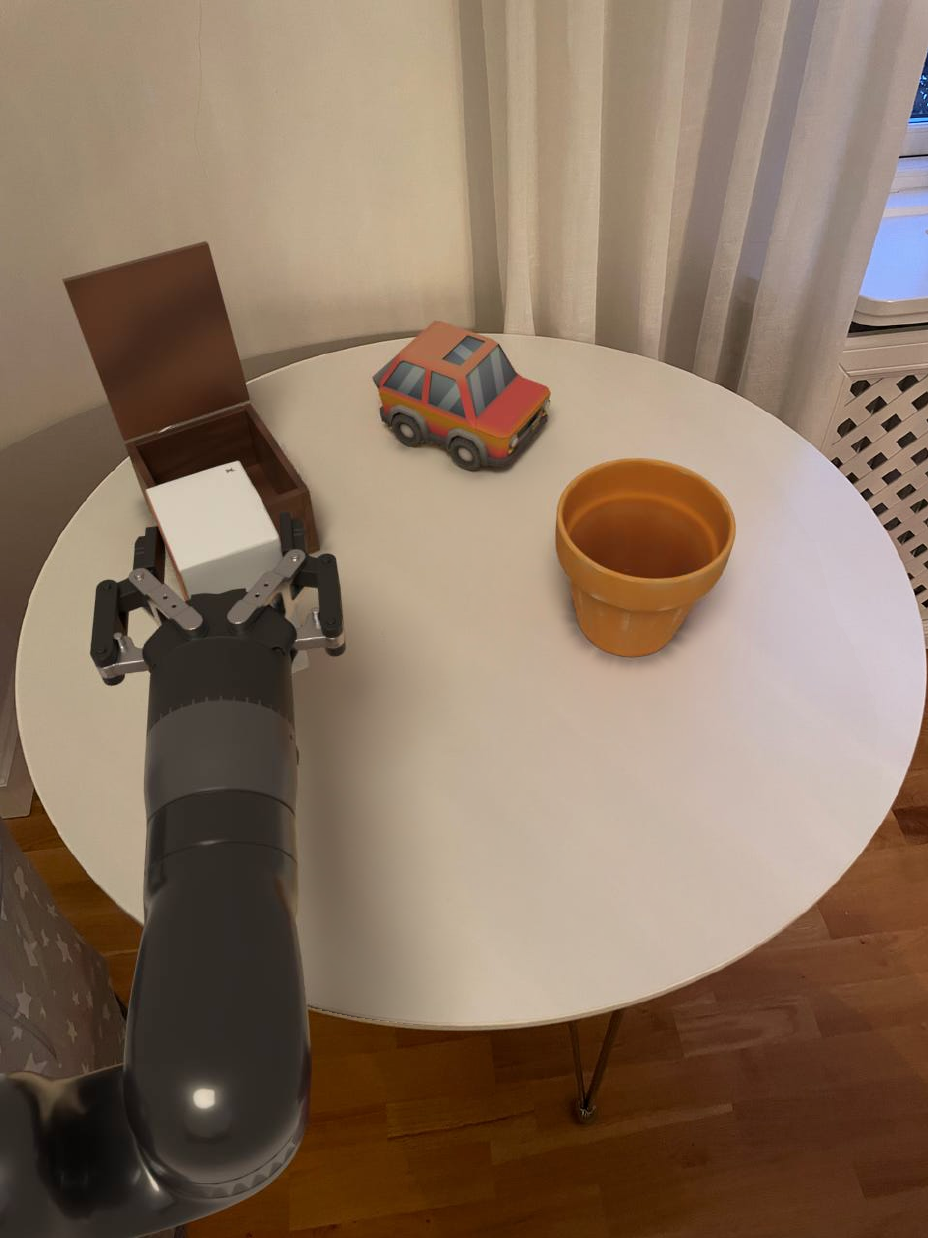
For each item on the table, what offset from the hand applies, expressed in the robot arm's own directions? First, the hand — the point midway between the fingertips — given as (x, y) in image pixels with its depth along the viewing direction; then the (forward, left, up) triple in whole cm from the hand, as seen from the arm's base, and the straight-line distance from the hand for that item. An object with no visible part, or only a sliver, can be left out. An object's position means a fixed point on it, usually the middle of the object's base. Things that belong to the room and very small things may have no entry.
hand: (221, 528), depth 58 cm
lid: (-7, +33, -8) cm, 34 cm away
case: (-4, +25, -24) cm, 35 cm away
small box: (0, -1, -11) cm, 11 cm away
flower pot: (+31, +7, -24) cm, 40 cm away
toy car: (+21, +36, -24) cm, 48 cm away
